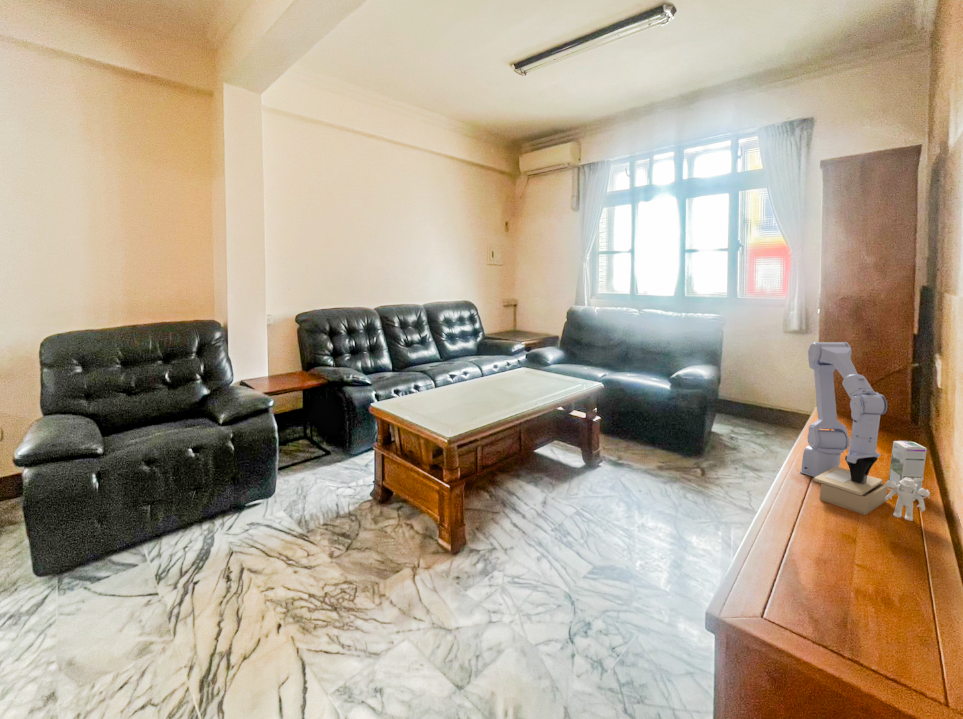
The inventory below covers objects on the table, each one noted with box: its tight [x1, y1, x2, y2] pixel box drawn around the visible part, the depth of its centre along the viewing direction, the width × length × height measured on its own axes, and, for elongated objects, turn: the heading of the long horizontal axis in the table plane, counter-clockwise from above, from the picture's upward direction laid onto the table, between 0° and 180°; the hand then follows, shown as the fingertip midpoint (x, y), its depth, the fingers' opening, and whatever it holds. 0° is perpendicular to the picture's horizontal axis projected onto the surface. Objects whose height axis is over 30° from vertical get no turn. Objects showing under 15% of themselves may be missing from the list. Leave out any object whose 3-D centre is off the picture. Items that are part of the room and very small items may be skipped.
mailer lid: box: [813, 466, 884, 495], centre depth 134 cm, size 12×15×3 cm
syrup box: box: [888, 440, 928, 491], centre depth 138 cm, size 6×6×14 cm
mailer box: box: [819, 482, 889, 516], centre depth 133 cm, size 11×14×5 cm
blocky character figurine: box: [884, 476, 931, 522], centre depth 123 cm, size 9×4×12 cm, turn 40°
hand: (858, 480), depth 132 cm, fingers closed on mailer lid, 2 cm apart
